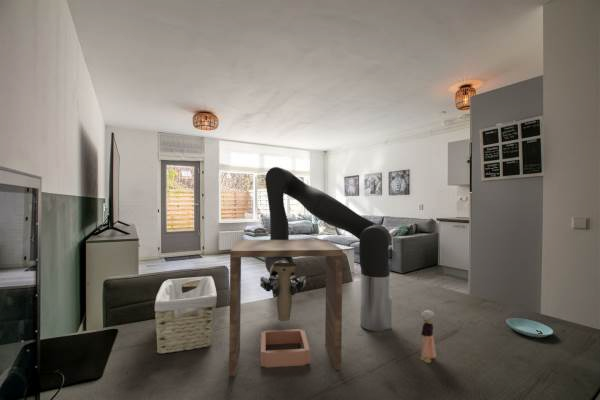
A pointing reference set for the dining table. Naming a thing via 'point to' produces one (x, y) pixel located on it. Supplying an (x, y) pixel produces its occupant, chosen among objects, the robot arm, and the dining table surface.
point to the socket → (284, 356)
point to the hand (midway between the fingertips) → (285, 291)
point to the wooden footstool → (289, 250)
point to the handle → (284, 289)
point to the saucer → (529, 327)
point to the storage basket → (185, 314)
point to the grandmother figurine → (427, 337)
